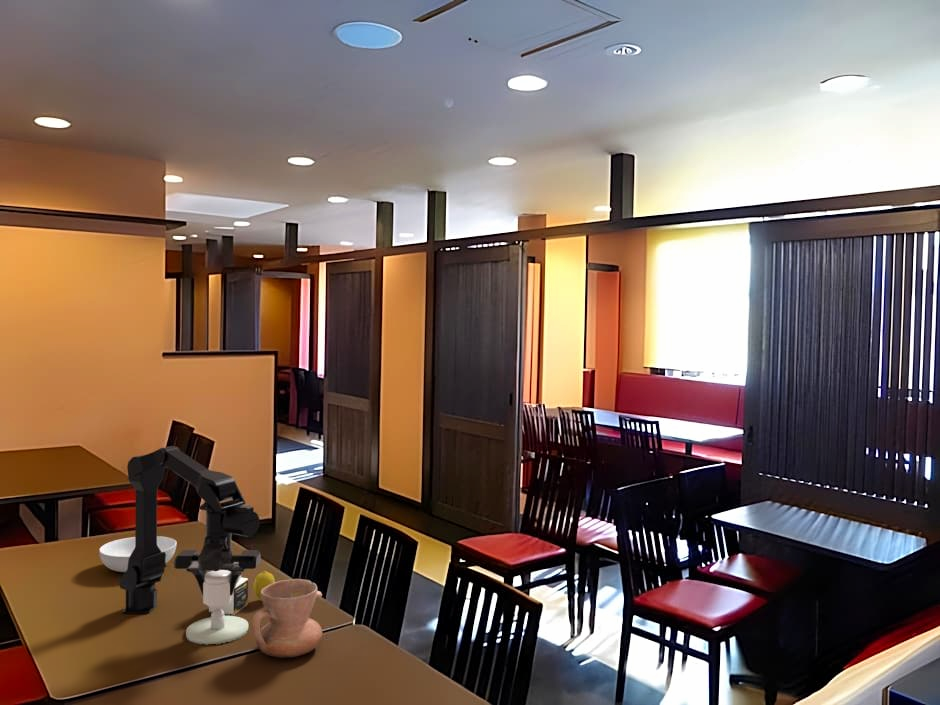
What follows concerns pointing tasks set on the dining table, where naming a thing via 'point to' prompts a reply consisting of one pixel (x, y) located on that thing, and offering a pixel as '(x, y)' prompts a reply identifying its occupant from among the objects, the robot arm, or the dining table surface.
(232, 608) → the medicine bottle
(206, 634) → the post stand
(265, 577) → the lemon
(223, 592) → the white lidded jar
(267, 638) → the ceramic jug
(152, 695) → the dining table surface
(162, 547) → the serving bowl
